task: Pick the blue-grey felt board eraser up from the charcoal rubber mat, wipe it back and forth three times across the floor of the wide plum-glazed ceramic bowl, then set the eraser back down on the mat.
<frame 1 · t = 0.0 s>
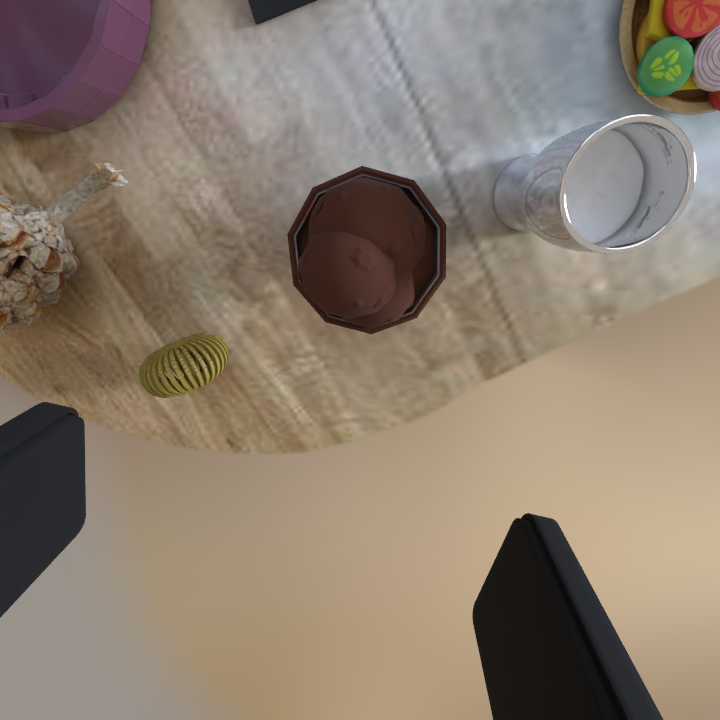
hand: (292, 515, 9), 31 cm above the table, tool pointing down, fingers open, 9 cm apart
pine cone: (68, 235, 38), on the table
ice cream bowl: (371, 243, 37), on the table
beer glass: (528, 193, 35), on the table
toy food set: (705, 19, 30), on the table
sculpture: (204, 349, 42), on the table
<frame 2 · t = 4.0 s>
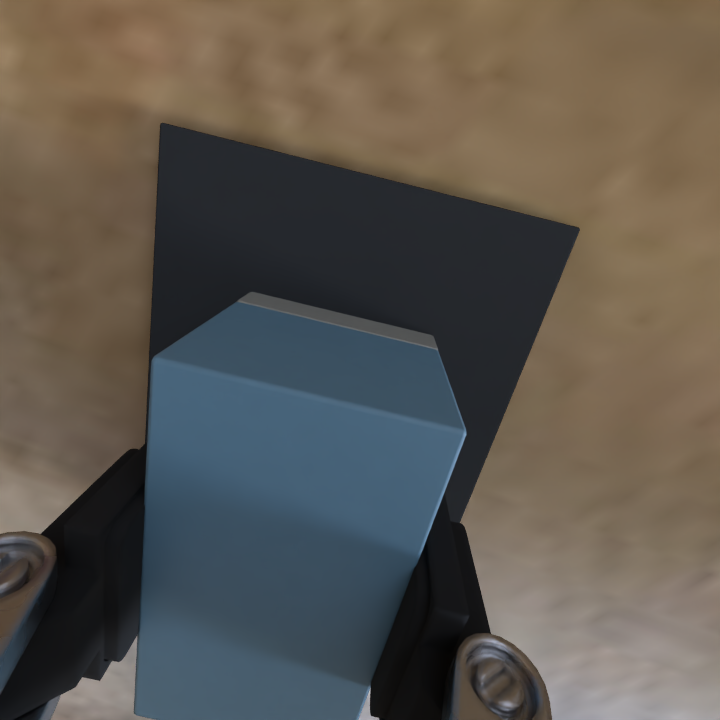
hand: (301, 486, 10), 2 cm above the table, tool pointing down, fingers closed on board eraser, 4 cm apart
rubber mat: (313, 445, 11), on the table
board eraser: (311, 454, 11), resting on rubber mat, touching gripper
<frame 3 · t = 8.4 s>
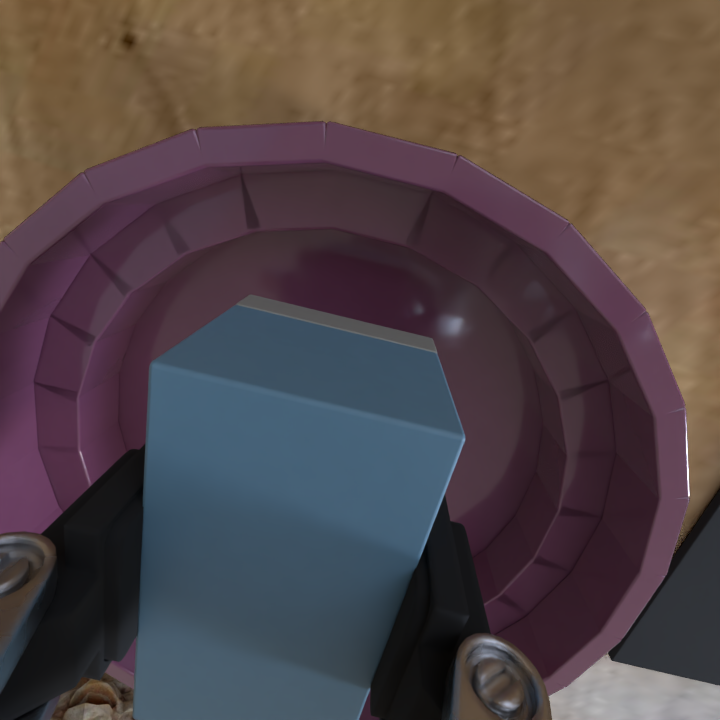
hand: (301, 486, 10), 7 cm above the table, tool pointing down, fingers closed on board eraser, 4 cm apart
serving bowl: (327, 434, 18), on the table
pine cone: (158, 665, 24), on the table
board eraser: (310, 456, 11), point 6 cm above the table, touching gripper
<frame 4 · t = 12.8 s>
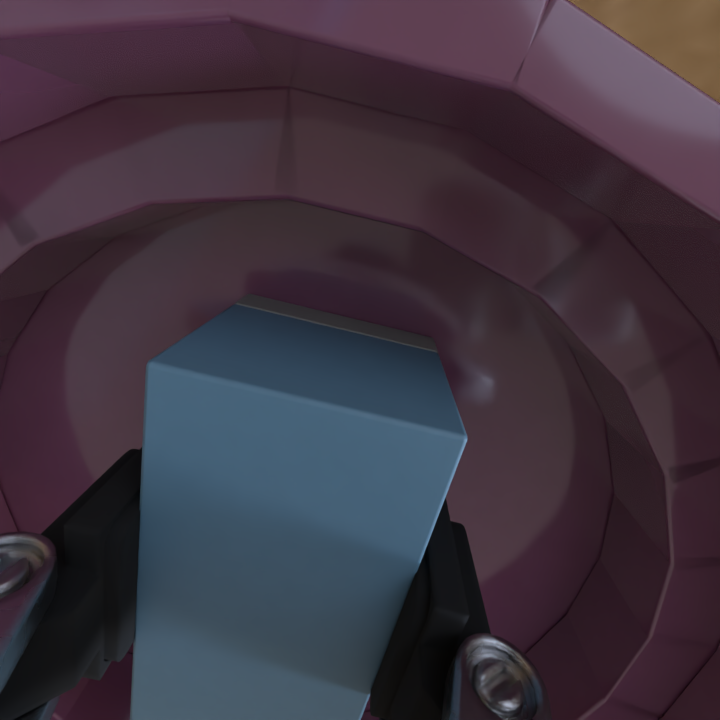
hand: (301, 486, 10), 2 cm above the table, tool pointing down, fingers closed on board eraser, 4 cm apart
serving bowl: (301, 502, 13), on the table
board eraser: (310, 457, 11), point 1 cm above the table, touching gripper
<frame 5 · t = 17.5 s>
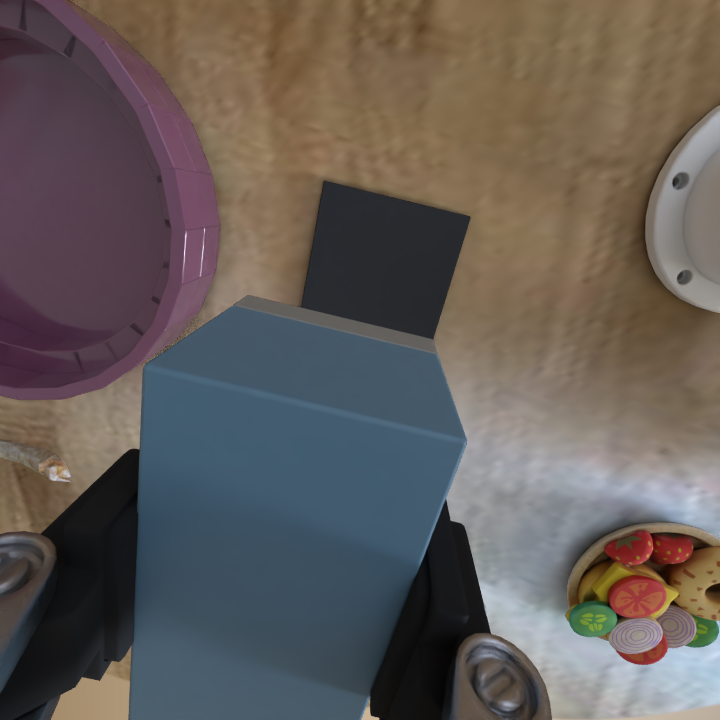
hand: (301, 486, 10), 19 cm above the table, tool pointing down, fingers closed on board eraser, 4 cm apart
serving bowl: (54, 207, 26), on the table
rubber mat: (370, 309, 27), on the table
board eraser: (309, 459, 11), point 18 cm above the table, touching gripper
toy food set: (641, 575, 34), on the table
when the fingers open (1 cm above the table, at t = 21.7 s): board eraser stays where it is, resting on rubber mat.
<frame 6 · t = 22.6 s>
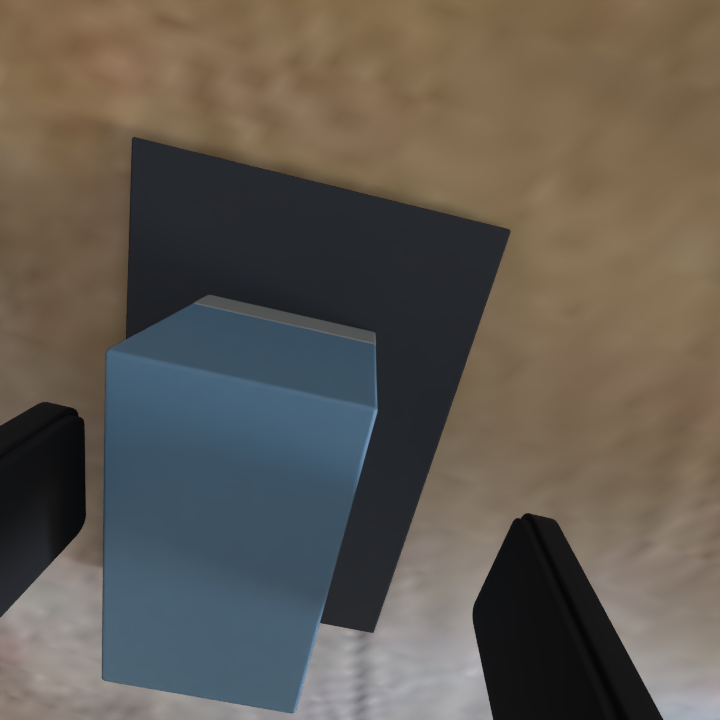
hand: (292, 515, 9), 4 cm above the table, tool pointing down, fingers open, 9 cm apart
rubber mat: (282, 432, 12), on the table
board eraser: (270, 443, 12), resting on rubber mat
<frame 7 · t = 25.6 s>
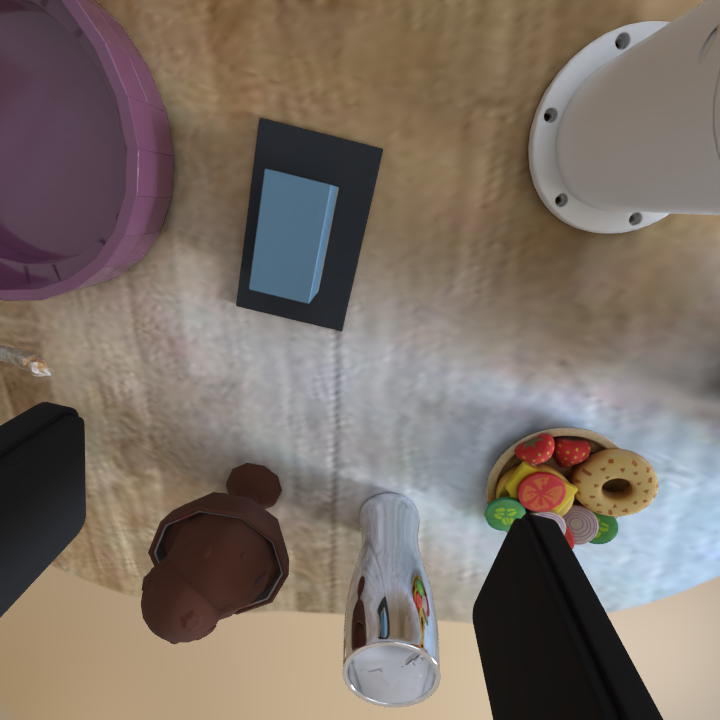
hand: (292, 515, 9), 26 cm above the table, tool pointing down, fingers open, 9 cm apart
serving bowl: (37, 142, 31), on the table
rubber mat: (305, 233, 32), on the table
ice cream bowl: (254, 485, 41), on the table
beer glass: (389, 515, 42), on the table
board eraser: (300, 235, 32), resting on rubber mat
toy food set: (553, 482, 39), on the table
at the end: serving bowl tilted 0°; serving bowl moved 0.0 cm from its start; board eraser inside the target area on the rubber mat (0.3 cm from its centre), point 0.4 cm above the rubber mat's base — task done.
